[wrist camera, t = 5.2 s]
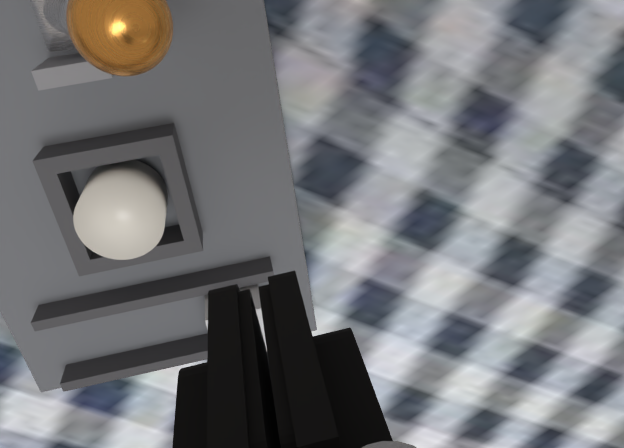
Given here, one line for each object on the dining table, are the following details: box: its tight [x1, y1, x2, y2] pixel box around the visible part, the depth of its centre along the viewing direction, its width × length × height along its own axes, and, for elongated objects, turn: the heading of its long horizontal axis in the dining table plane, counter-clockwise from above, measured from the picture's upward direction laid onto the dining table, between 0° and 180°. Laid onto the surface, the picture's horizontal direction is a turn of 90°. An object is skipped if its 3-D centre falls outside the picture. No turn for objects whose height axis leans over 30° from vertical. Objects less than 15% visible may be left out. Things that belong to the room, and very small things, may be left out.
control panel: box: [0, 0, 317, 392], centre depth 27 cm, size 17×25×5 cm
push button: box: [73, 160, 168, 260], centre depth 26 cm, size 4×4×3 cm
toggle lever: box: [30, 0, 173, 76], centre depth 19 cm, size 3×3×12 cm
